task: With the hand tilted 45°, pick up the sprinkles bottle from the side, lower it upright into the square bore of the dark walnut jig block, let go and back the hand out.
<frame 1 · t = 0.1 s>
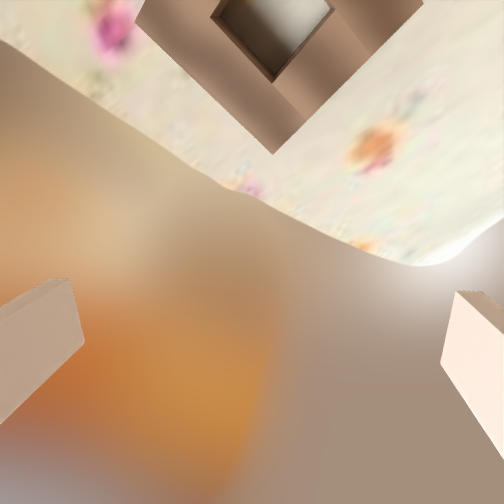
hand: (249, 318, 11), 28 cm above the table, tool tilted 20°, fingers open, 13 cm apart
walnut jig: (273, 12, 28), on the table
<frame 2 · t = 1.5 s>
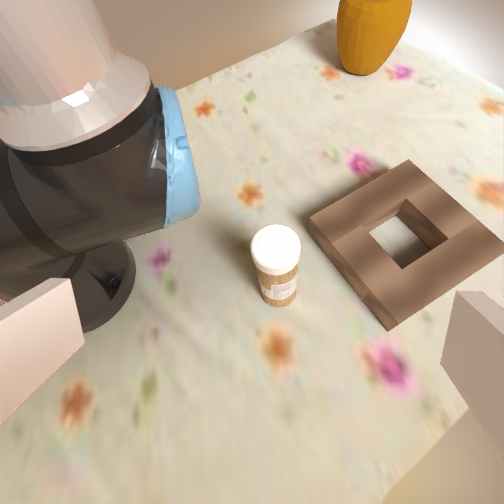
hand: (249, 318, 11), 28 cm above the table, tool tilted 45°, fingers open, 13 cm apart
apple: (361, 66, 57), on the table
walnut jig: (393, 246, 41), on the table
sprinkles bottle: (278, 291, 40), on the table
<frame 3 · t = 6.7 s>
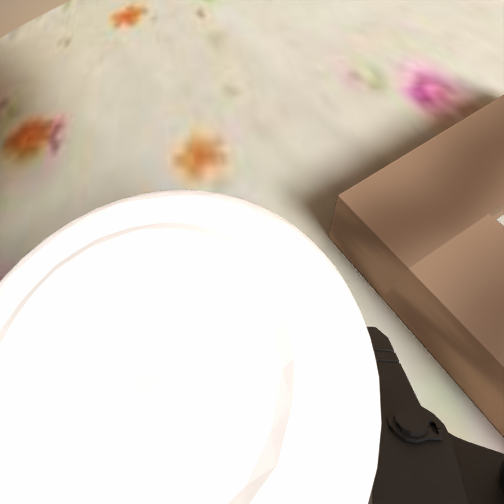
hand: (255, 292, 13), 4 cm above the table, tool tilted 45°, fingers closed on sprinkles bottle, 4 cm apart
sprinkles bottle: (259, 395, 15), on the table, touching gripper
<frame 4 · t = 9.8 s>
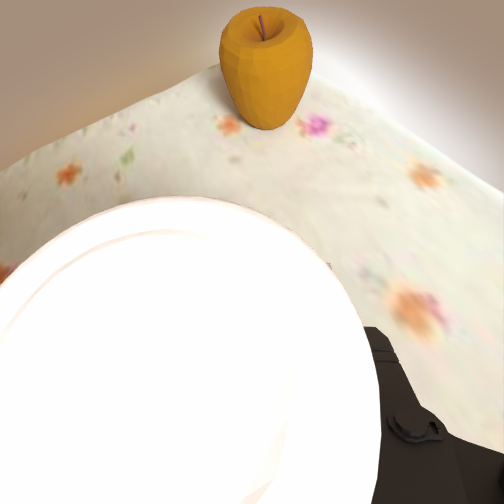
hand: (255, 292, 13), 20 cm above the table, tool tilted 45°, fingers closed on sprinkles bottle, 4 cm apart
apple: (269, 116, 45), on the table
sprinkles bottle: (259, 397, 15), point 15 cm above the table, touching gripper
when the fingers open (6 cm above the table, at t = 13.1 s): sprinkles bottle drops 2 cm, resting in walnut jig.
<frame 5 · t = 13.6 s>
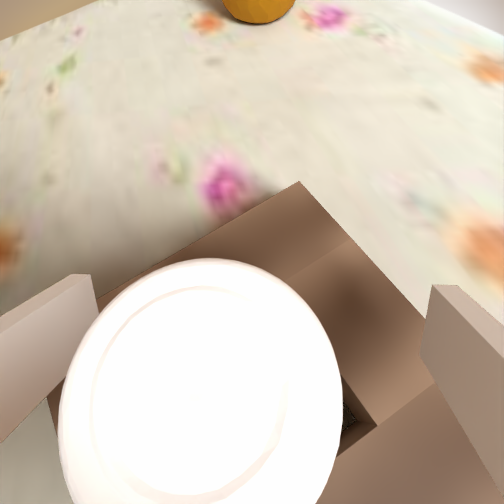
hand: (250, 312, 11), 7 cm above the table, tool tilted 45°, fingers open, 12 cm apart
apple: (262, 11, 33), on the table
walnut jig: (262, 396, 17), on the table
sprinkles bottle: (262, 398, 17), resting in walnut jig
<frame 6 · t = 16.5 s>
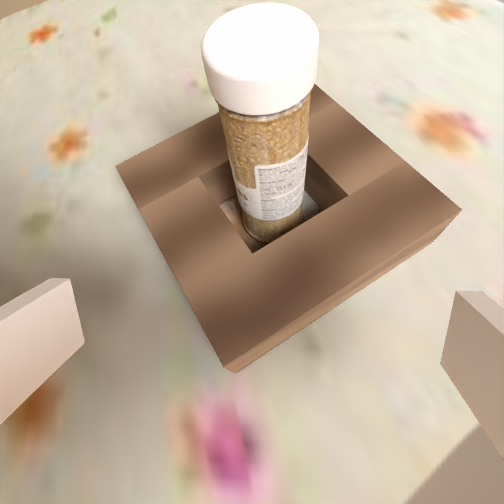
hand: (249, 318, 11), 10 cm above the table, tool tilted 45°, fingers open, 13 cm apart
walnut jig: (272, 218, 24), on the table
sprinkles bottle: (272, 221, 24), resting in walnut jig
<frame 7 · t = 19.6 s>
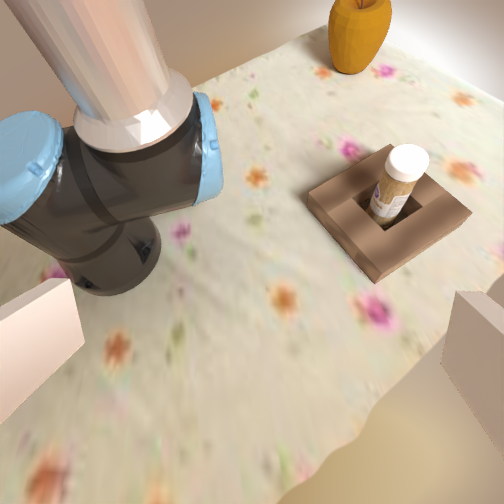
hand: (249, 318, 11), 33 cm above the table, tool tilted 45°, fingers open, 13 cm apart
apple: (350, 66, 65), on the table
walnut jig: (379, 216, 49), on the table
sprinkles bottle: (379, 218, 49), resting in walnut jig
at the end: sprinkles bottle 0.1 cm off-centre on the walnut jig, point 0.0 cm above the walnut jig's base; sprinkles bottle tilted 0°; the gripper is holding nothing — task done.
